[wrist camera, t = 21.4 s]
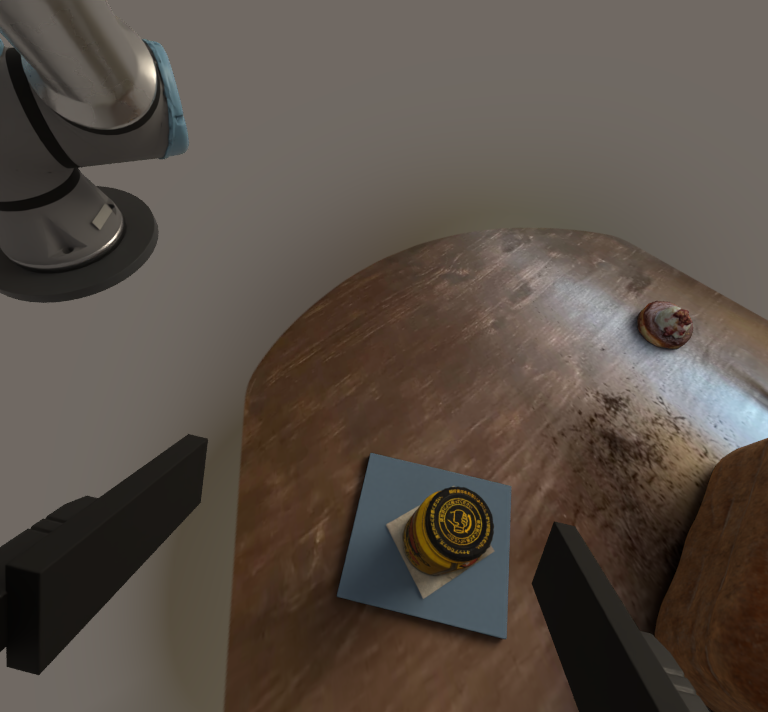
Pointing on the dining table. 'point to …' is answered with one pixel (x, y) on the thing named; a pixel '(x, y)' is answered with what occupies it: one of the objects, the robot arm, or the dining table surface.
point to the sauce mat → (387, 568)
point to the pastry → (665, 324)
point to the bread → (724, 588)
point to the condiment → (443, 536)
